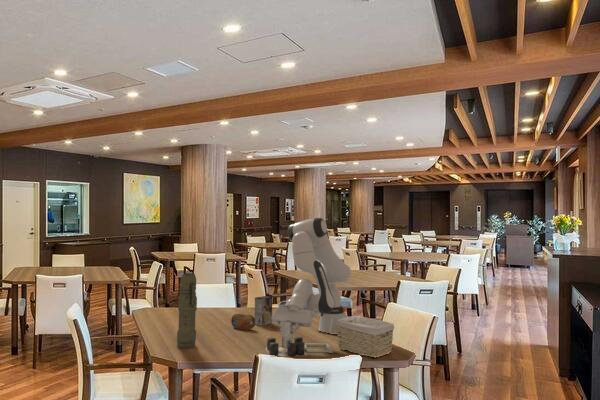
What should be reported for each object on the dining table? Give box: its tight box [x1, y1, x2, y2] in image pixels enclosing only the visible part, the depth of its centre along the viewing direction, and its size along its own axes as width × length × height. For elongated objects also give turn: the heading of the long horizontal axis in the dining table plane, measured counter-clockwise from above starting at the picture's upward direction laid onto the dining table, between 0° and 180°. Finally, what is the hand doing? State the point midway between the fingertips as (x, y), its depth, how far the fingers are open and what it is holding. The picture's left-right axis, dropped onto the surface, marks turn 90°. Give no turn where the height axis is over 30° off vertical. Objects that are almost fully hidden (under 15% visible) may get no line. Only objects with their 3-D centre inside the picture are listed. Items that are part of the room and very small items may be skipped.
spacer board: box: [265, 336, 308, 357], centre depth 217 cm, size 18×16×6 cm
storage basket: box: [336, 315, 395, 356], centre depth 224 cm, size 24×16×15 cm
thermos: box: [176, 272, 198, 349], centre depth 228 cm, size 9×12×35 cm
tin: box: [231, 313, 256, 331], centre depth 267 cm, size 15×3×8 cm, turn 62°
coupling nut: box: [281, 320, 294, 348], centre depth 218 cm, size 5×4×12 cm
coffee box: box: [254, 295, 273, 327], centre depth 280 cm, size 9×6×16 cm
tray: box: [304, 342, 333, 354], centre depth 224 cm, size 12×12×2 cm
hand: (287, 332), depth 217 cm, fingers closed on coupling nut, 4 cm apart
